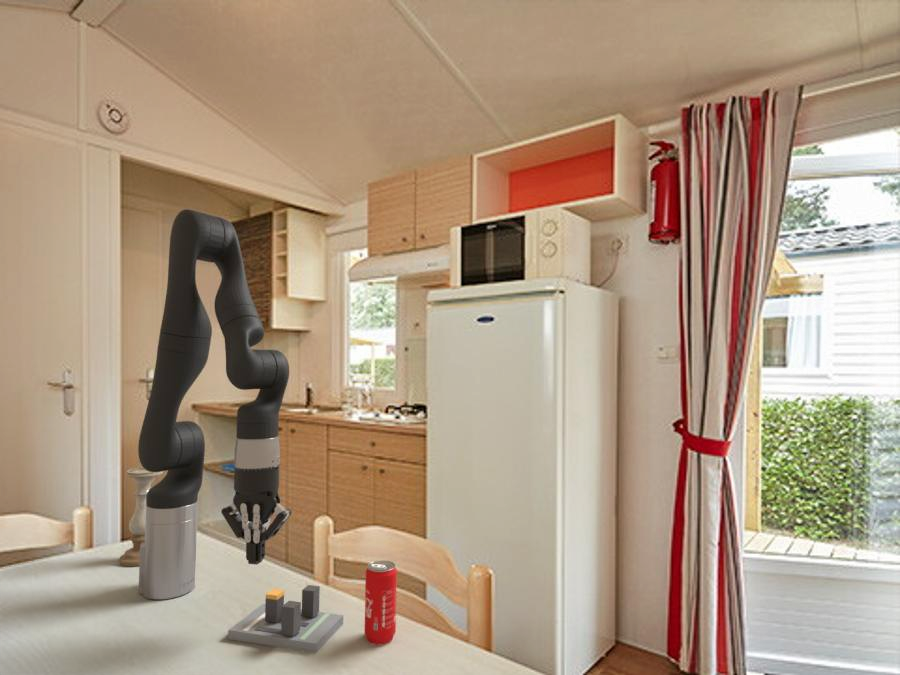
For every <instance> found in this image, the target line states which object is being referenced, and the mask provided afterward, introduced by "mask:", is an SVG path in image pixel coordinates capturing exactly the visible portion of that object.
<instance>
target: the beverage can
mask: <svg viewBox="0 0 900 675" xmlns="http://www.w3.org/2000/svg"><path fill="white" fill-rule="evenodd" d="M366 567H367V568H366V570H365V586H364V587H365V589H364V591H365V594H364V595H365V596H364V597H365V599H364V635H365V638H366V641H367V642H368V643H369V644H371V645H375V646H381V645H382V646H383V645H386V644H389V643H391V642H392V641H393V639H394V637H395V634H396V629H397V626H396V624H397V584H398V583H397V580H398V579H397V578H398V571H397V570H398V569H397V568H396V564H395V563H394V562H392V561H390V560H376V561H372V562H370V563H368V564H367V566H366Z"/></svg>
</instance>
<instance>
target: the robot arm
mask: <svg viewBox="0 0 900 675" xmlns="http://www.w3.org/2000/svg"><path fill="white" fill-rule="evenodd" d="M168 249H169V250H168V251H169V253H168V266H167V268H168V269H167V270H168V271H167V284H166V285H167V286H166V294H165V299H164V305H163V306H164V308H163V316H162V318H161V325H160V328H159V329H160V331H159V335H158V336H159V337H158V344H157V350H156V351H157V352H156V359H155V361H156V362H155V368H154V374H153V377H152V384H151V389H150V394H149V398H148V402H147V406H146V410H145V413H144V418H143V422H142V426H141V429H140V434H139V438H138V446H137V447H138V448H137V451H138V452H137V453H138V459H139V463H140V464H141V466H142V467H144V469H145V470H147V471H149V472H161V471H163V472H165V471H167V473H166V474H165V475H164V477H163V478H162V479H160V481H159V482H158V483H156V484H155V485H154V486H151V489H150V490H149V491H148V492H147V497H146V524H145V542H144V543H142V544H141V545H140V566H138V567H139V570H138V571H139V572H138V573H139V575H138V594H141V595H143V597H145V598H146V599H148V600H149V599H150V600H167V599H174V598H177V597H181V596H184V595H186V594H189V593H190V592H191V591H192V590H194V588H195V586H196V567H197V566H196V562H197V533H198V532H197V530H198V529H197V528H198V526H197V525H198V498H199V497H198V496H199V492H200V489H201V487H202V484H203V475H204V474H203V473H204V464H205V455H206V454H205V452H206V444H205V442H206V440H205V436H204V431H203V430H202V428H201V427H200V425H198V423H196V422H195V421H190V420H183V421H177V418H178V414H179V410H180V406H181V405H182V401H183V399H184V397H185V396H186V394H187V393H188V391H189V390H190V389H191V387H192V386H193V384H194V383H195V381H196V380H197V379H198V378H199V376H200V374H201V373H202V371H203V370H204V368H205V366H206V365H207V363H208V362H207V361H208V359H209V355H210V348H211V343H212V342H211V341H212V335H213V334H212V333H213V331H212V330H213V327H212V326H213V325H212V322H211V320H210V317H209V314H208V312H207V309H206V307H205V306H204V303H203V301H202V298H201V297H200V294H199V291H198V287H197V282H196V268H197V261H201V262H202V261H203V262H207V263H214V264H215V266H216V267H217V270H219V273H220V276H221V280H220V284H219V287H218V289H217V292H216V295H215V299H214V313H215V316H216V320H217V322H218V325H219V328H220V330H221V333H222V335H223V336H222V337H223V338H224V348H225V351H224V352H225V372H226V377H227V378H228V381H229V382H230V384H232V386H234V387H235V388H237V389H238V390H243V391H244V390H245V391H247V390H248V391H249V390H259V391H258V393H257V396H256V397H255V399H254V400H252V401H250V402H247V403H243V404H242V405H240V406H239V407H238V408H237V412H236V440H235V446H234V457H233V458H234V462H233V463H234V466H233V468H234V472H233V490H234V492H235V494H234V496H233V498H232V503H230V504H229V505H228V506H226V507H223V508H221V512H220V513H221V514H222V516H223V518H224V519H225V521H226V522H227V524H228V525H229V528H230V529H231V530H232V532H233V534H234V536H235V537H236V538H237V539H243V540H244V541H245V543H246V545H245V553H246V554H245V558H246V561H247V563H248V565H258V564H261V563H262V562H263V560H264V559H265V557H266V541H268V540H270V539H271V538H273V537H275V536H276V535H277V534H278V533H279V531H280V530H281V529H282V527H283V526H284V525H285V523H286V522H287V520H289V518H290V516H291V515H292V514H293V513H292V510H291V509H290V508H287V509H286V508H285V507H284V506H283V505H282V504H281V498H280V496H279V489H280V461H281V457H280V454H281V452H280V451H281V449H280V440H279V428H280V427H279V422H280V419H279V415H280V410H281V407H282V403H283V401H284V400H283V399H284V396H285V393H286V389H287V385H288V382H289V378H290V365H289V361H288V358H287V357H286V355H285V354H284V353H283V352H281V351H280V350H277V349H253V348H251V347H255V346H256V345H258V344H259V343H260V342H262V340H263V339H264V337H265V328H264V325H263V323H262V320H261V318H260V315H259V313H258V311H257V309H256V305H255V302H254V300H253V298H252V295H251V292H250V289H249V285H248V280H247V276H246V270H245V265H244V259H243V256H242V255H243V254H242V250H241V246H240V241H239V237H238V234H237V231H236V229H235V226H234V225H233V224H232V223H231V222H230V221H228V220H227V219H225V218H222V217H220V216H216V215H212V214H208V213H205V212H200V211H198V210H194V209H188V208H187V209H182V210H181V211H179V212H178V213H177V215H176V216H175V218H174V220H173V223H172V227H171V231H170V237H169V248H168ZM272 516H273V519H274V520H273V521H272V522H271V517H272Z"/></svg>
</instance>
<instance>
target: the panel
mask: <svg viewBox="0 0 900 675" xmlns="http://www.w3.org/2000/svg"><path fill="white" fill-rule="evenodd" d="M281 620H282V618H281V619H280V620H279V621H278V622H277V623H275V622H268V621H265V603H262V604H261V605H260V606H258V607H257V608H256V609H254V610H253V611H251V612H250V613H249V614H247V615H246V616H245V617H244V618H241V619H240V621H238V622H237V623H236V624H234V625H233V626H232V627H230V628H229V629H228V630H227V631H228V633H227V639H228V640H230V641H231V640H232V641H237V642H242V643H250V644H256V645H260V646H261V645H262V646H267V647H268V646H269V647H274V648H281V649H287V650H295V651H300V652H305V653H310V654H317V653H318V652H319V650H321V649H322V648H323V647H324V646H325V645H326V643H327V642H328V641H329V640H330V639H331V638H332V637H333V636H334V635H335V633H336V632H337V631H338V630H339V629H340V628H341V627H342V626H343V625H344V614H337V613H329V612H323V611H319V613H318V614H316V615H315V616H314V617H313V618H311V617H304V616H302V608H301V618H300V630H299V631H298V632H297V633H296V634H295V635H294V636H288V635H281Z"/></svg>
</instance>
